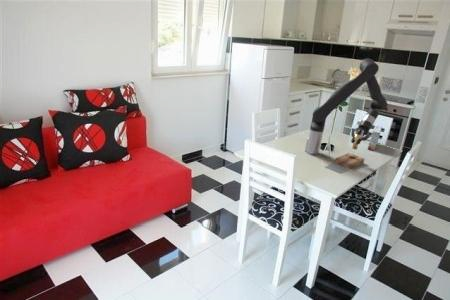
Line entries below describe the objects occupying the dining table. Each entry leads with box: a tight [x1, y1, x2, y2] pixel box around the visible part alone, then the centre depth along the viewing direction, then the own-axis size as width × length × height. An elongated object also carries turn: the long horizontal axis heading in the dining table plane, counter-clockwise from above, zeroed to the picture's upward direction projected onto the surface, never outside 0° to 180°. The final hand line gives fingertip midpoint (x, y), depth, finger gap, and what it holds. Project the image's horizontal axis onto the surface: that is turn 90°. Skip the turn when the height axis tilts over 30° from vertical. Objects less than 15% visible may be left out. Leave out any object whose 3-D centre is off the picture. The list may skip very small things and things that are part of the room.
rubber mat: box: [324, 163, 349, 175], centre depth 206 cm, size 12×10×1 cm
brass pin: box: [352, 133, 360, 150], centre depth 213 cm, size 3×3×10 cm
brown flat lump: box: [334, 152, 365, 170], centre depth 217 cm, size 12×18×4 cm, turn 132°
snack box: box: [367, 125, 383, 152], centre depth 251 cm, size 21×6×15 cm, turn 151°
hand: (354, 143), depth 212 cm, fingers closed on brass pin, 3 cm apart
